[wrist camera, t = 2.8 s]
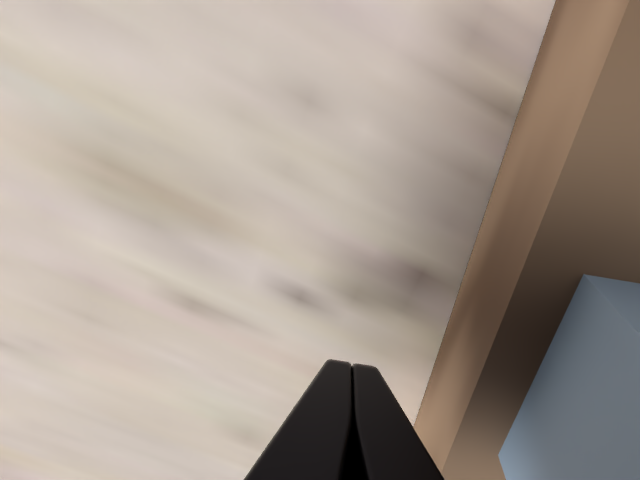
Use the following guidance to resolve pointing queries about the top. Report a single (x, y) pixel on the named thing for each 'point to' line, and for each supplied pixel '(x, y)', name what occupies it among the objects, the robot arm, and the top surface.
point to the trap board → (542, 232)
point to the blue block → (584, 393)
